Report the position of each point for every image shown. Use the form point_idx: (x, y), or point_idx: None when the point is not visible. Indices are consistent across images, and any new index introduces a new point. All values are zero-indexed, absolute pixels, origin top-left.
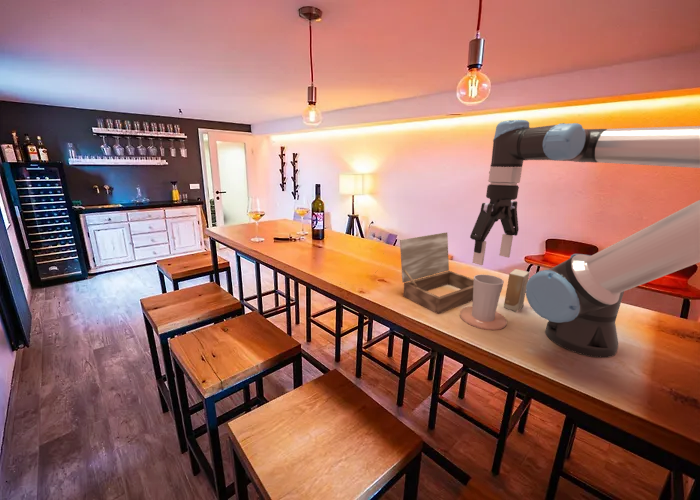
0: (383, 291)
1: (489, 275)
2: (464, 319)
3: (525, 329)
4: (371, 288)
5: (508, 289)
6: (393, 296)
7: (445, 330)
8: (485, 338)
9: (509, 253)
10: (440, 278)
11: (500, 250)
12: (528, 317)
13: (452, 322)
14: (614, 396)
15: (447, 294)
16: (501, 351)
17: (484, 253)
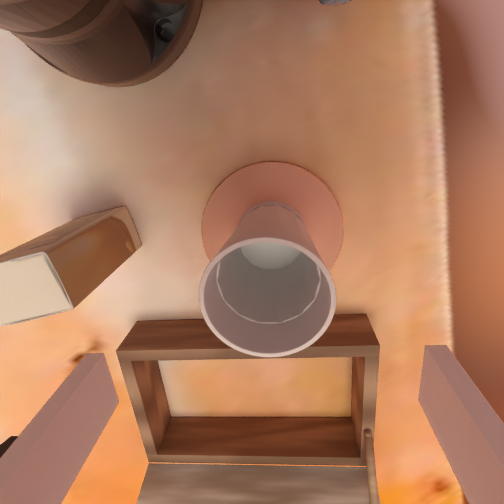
0: (385, 465)
1: (214, 327)
2: (339, 250)
3: (206, 120)
4: (399, 489)
5: (109, 267)
6: (386, 435)
7: (437, 240)
8: (376, 149)
9: (78, 373)
10: (205, 442)
11: (101, 429)
12: (123, 164)
13: (374, 261)
14: None
15: (322, 355)
16: (407, 72)
17: (476, 417)
